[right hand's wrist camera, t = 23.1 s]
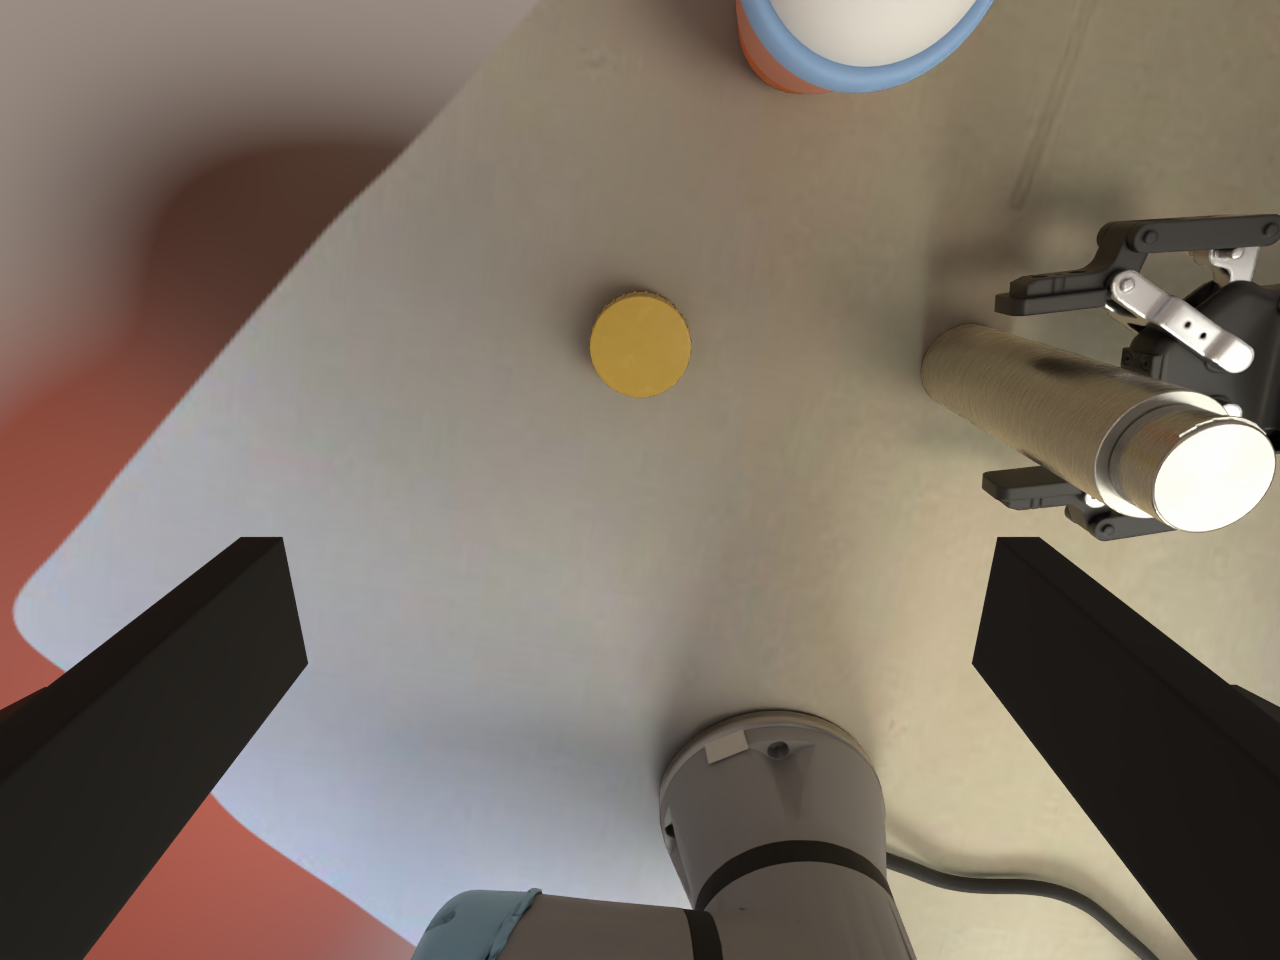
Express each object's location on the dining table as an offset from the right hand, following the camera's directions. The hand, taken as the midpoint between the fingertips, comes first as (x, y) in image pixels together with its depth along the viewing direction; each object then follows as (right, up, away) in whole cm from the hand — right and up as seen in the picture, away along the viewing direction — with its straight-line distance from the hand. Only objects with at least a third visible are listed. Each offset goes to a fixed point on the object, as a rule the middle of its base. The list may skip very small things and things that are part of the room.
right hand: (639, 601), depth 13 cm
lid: (0, +9, +22) cm, 24 cm away
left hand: (+16, +6, +18) cm, 25 cm away
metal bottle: (+18, +8, +24) cm, 31 cm away
